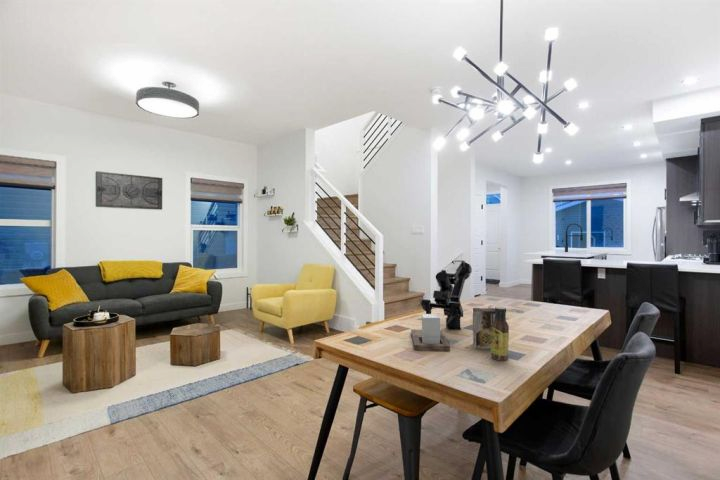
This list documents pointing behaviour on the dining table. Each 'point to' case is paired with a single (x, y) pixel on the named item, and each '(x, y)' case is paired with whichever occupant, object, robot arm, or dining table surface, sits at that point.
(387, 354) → the dining table surface
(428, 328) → the supplement box
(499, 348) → the sauce bottle
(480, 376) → the dining table surface
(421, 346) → the cutout board
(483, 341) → the coffee box
